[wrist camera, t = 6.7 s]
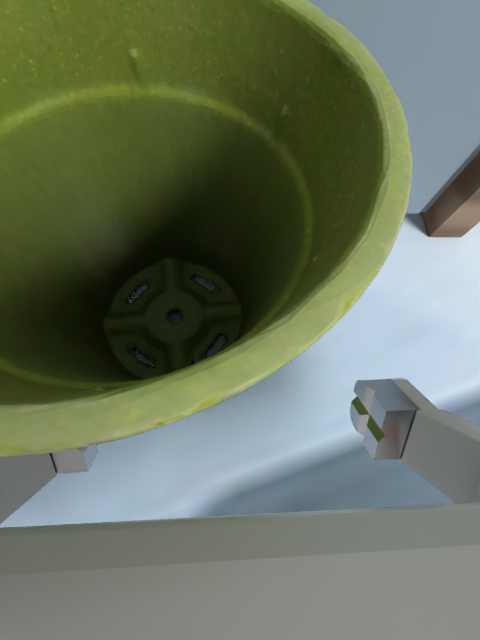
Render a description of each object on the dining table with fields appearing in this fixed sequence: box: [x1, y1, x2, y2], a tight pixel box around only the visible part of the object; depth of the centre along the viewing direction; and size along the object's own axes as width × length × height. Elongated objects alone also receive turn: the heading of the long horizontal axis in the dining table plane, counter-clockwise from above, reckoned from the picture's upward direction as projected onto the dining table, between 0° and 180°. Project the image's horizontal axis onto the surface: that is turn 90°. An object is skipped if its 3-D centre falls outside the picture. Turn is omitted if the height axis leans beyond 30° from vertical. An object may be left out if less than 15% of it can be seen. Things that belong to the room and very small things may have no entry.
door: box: [307, 0, 480, 214], centre depth 11 cm, size 3×30×15 cm, turn 92°
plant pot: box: [0, 0, 412, 457], centre depth 10 cm, size 12×12×11 cm
